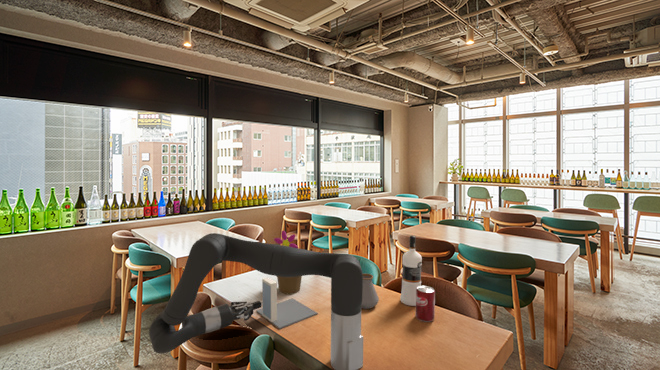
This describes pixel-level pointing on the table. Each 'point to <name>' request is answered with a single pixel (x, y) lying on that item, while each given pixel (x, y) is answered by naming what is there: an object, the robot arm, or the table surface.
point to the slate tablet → (269, 299)
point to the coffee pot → (368, 293)
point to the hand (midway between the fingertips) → (260, 303)
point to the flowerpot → (288, 283)
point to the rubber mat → (290, 313)
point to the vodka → (411, 274)
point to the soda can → (425, 303)
